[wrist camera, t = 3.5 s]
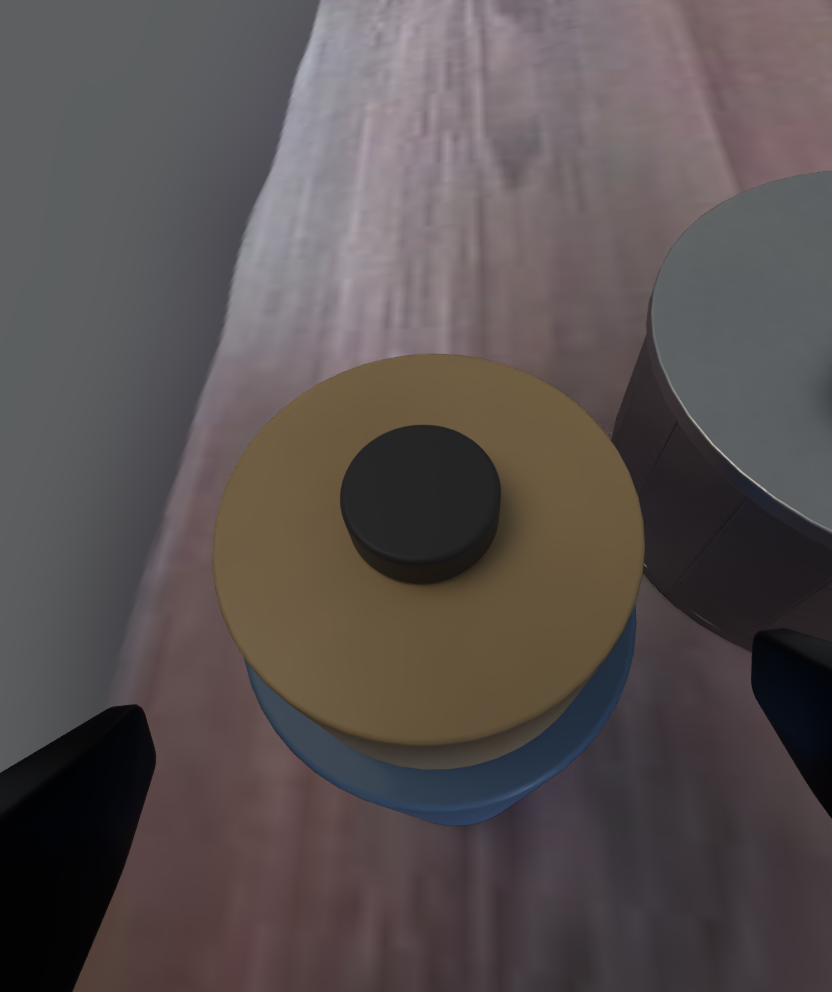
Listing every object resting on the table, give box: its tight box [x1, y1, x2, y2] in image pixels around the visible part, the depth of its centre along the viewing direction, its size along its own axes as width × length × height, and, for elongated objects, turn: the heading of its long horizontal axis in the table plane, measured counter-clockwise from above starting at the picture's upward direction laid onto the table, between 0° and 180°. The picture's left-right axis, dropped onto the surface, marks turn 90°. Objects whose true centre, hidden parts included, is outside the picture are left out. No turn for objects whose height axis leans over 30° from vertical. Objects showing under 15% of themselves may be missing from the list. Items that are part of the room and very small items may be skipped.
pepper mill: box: [212, 354, 645, 826], centre depth 11 cm, size 5×5×13 cm
